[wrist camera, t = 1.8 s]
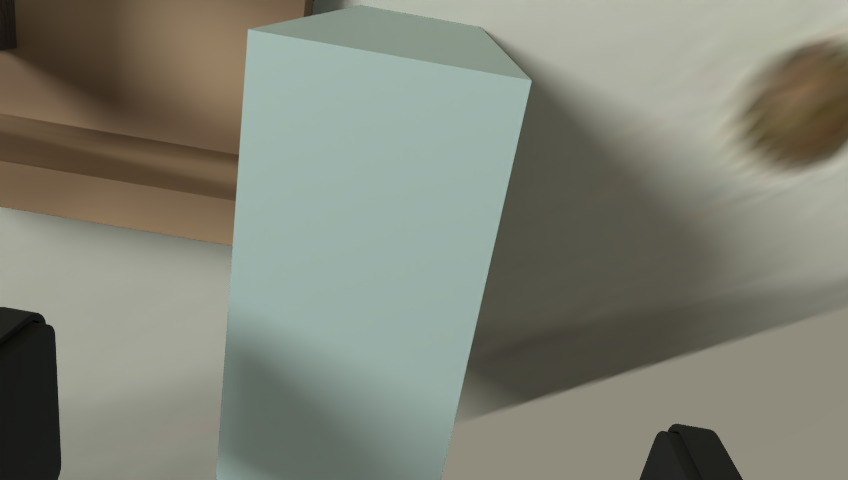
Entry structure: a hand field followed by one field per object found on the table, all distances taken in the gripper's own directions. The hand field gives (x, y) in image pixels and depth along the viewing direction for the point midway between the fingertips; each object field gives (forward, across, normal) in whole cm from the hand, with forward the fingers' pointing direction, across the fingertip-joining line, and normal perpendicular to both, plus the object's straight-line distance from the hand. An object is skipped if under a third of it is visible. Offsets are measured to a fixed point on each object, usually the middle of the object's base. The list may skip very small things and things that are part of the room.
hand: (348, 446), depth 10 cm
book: (+17, +1, +1) cm, 17 cm away
